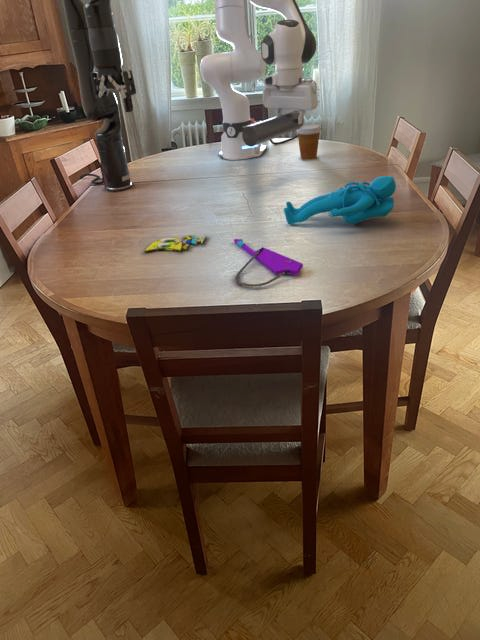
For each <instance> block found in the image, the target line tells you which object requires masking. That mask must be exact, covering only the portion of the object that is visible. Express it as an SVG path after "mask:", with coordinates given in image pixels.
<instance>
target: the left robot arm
mask: <svg viewBox="0 0 480 640" xmlns="http://www.w3.org/2000/svg"><path fill="white" fill-rule="evenodd" d="M61 2H62V6H63V11H64V16H65V21H66V22H65V23H66V27H67V32H68V36H69V41H70V45H71V48H72V49H71V50H72V54H73V58H74V62H75V66H76V67H75V68H76V73H77V80H78V87H79V94H80V100H81V106H82V110H83V112H84V114H85V116H86V118H87V119H88V120H89V121H90V122H99V121H103V124H102V126H101V127H99V129H97V130H96V131H95V132H94V139H95V143H96V147H97V153H98V156H99V160H100V162H99V163H98V164H99V168H100V173H101V176H100V175H99V174H95V173H84V174H83V173H82V174H81V175H80V176H79V180H81V179H83V178H84V177H94V178H93V179H92V180H91V181H90V183H91V184H93V185H102V184H103V185H104V189H106V190H107V191H111V192H120V191H124V190H127V189H130V188H132V187H133V184H132V179H131V175H130V170H129V169H130V168H129V165H128V160H127V155H126V149H125V144H124V141H123V134H122V131H123V128H122V121H121V114H120V109H119V108H120V107H119V103H118V99H117V97H116V95H115V93H114V91H112V90H116V91H117V92H119V93H120V94H121V96H122V101H123V106H124V111H125V113H132V112H133V110H134V106H133V105H134V104H133V99H132V96H134V95H136V94H137V89H136V83H135V80H134V75H133V71H132V70H131V69H128V70H123V68H122V66H123V64H124V63H123V57H122V52H121V47H120V42H119V41H120V40H119V36H118V32H117V30H116V25H115V20H114V15H113V9H112V0H88V1H85V2H84V1H83V0H61ZM96 69H97V70H96ZM95 70H96V71H95ZM111 89H112V90H111ZM101 177H102V178H101ZM99 180H101V181H99Z"/></svg>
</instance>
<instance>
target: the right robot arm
mask: <svg viewBox="0 0 480 640" xmlns="http://www.w3.org/2000/svg"><path fill="white" fill-rule="evenodd" d="M248 1H249V2H250V3H251V4H252V5H254V6H256V7H258V8H262V9H267V10H270V11H274V12H276V13H279V14H280V15H282V16H283V18H284V19H281V20H279V21H277V22H275V25H274V29H273V30H272V31H271V32H270V33H267V34H265V36H264V37H263V39H262V41H261V42H260V43H261V44H260V50H258V49H257V48H256V47H255V46H254V45H253V43H252V42H251V40H250V38H249V36H248V33H247V27H246V18H245V16H246V15H245V3H244V0H214V19H215V32H216V35H217V37H218V38H219V39H220V40H222V41H223V42H225V43H227V44H230V45H231V46H232V47H233V50H232V51H225V52H214V53H211V54H208V55H204V56H203V57H202V59H201V61H200V64H199V74H200V77H201V79H202V80H203V81H204V83H205V84H207V85H208V86H209V87H211V89H213V91H214V92H215V93H216V94H217V96H218V99H219V101H220V106H221V112H222V131H223V133H222V134H221V135H220V138H221V140H220V141H221V143H220V144H221V151H220V152H219V156H220V157H222V158H223V159H225V160H229V161H238V160H239V161H240V160H246V159H247V160H248V159H252V158H259V157H261V155H263V153H264V152H266V151H265V150H266V149H267V146H266V145H264V144H262V143H260V144H258V145H255V146H252V147H250V146H247V145H246V144H245V143H244V141H243V138H242V132H243V130H244V128H245V127H247V126H250V125H253V124H255V122H256V121H255V118H252V117H251V112H250V100H249V98H248V97H247V96H246V95H245V94H243V93H241V92H240V91H237V90H236V89H234V87H233V85H234V84H245V83H252V82H256V81H259V80H261V79H262V84H263V85H264V86H263V89H262V105H263V106H264V108H266V109H274V112H275V115H276V117H277V116H280V115H283V113H282V110H294V111H295V110H297V111H299V113H300V115H299V117H298V118H296V124H302V120H303V118H304V116H305V114H306V111H314V110H316V109H317V108H318V105H319V104H318V102H319V101H318V92H317V90H318V89H317V86H318V85H317V82H316V81H315V80H314V79H313V78H305V77H304V67H303V66H304V65H303V64H308V63H309V62H310V61H311V60H312V58H313V57H314V56H315V54H316V51H317V40H316V37H315V34H314V33H313V32H312V30H311V29H310V27H309V26H308V24H307V22H306V20H305V18H304V15H303V14H302V12H301V10H300V9H301V8H300V7H299V5H298V3H297V1H296V0H248ZM267 65H268V66H272V67H273V66H275V68H274V69H275V73H272V74H270V75H268V76H265V77H264V75H265V73H266V70H267ZM263 77H264V78H263ZM295 139H298V134H297V135H296V134H295V135H294V136H292V137H291V138H288V139H284V140H281V141H279V142H278V141H277V142H275V141H273V139H271V140H268V141H269V142H270V143H271V144H272V145H275V146H276V145H281V144H285V143H288V142H291V141H294V140H295Z"/></svg>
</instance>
